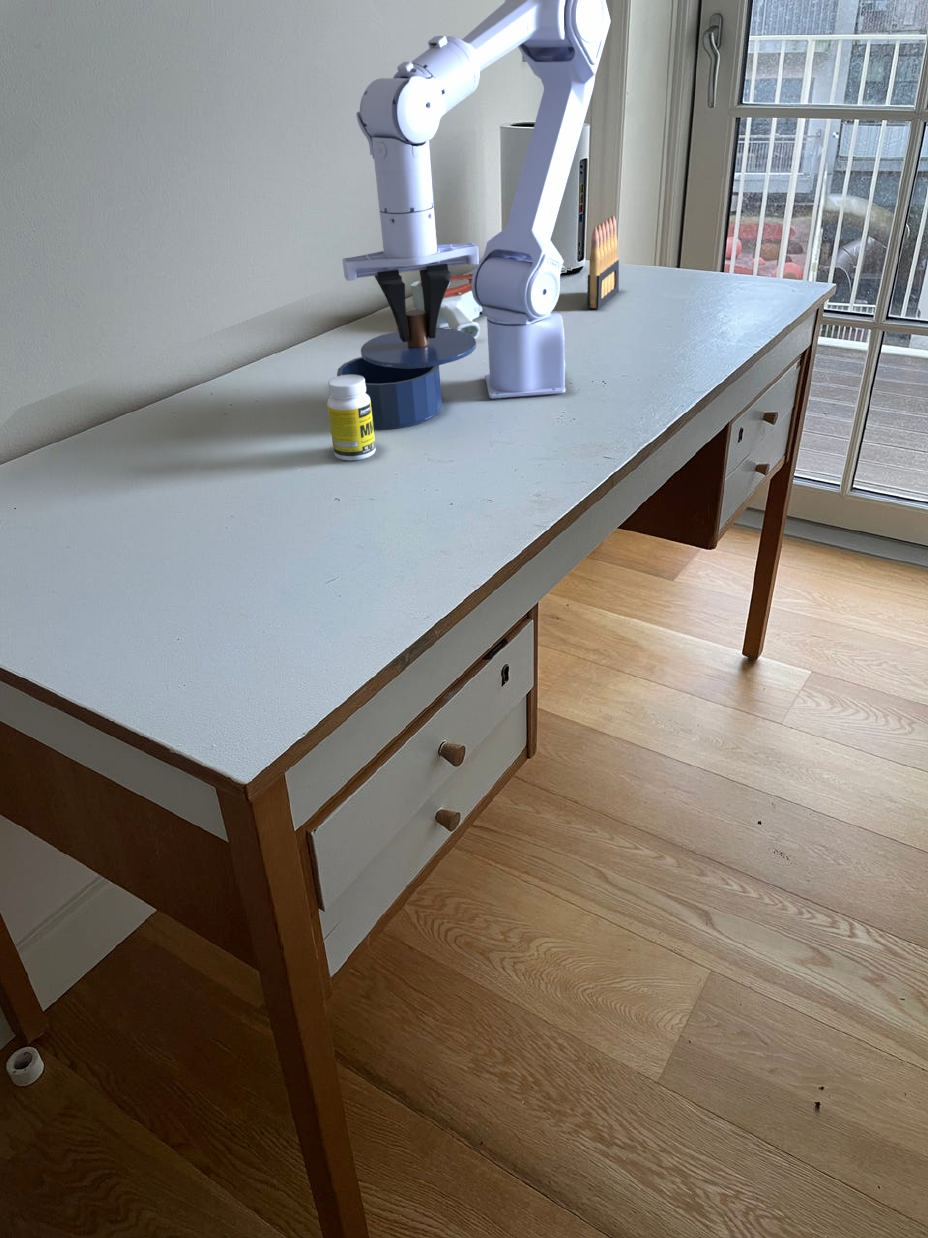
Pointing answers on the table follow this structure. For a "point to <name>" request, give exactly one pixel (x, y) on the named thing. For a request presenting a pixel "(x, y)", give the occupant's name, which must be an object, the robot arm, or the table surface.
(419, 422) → the tin
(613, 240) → the ammunition clip
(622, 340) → the table surface
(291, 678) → the table surface
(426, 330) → the tin lid
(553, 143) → the robot arm
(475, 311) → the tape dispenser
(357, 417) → the supplement bottle
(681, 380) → the table surface
